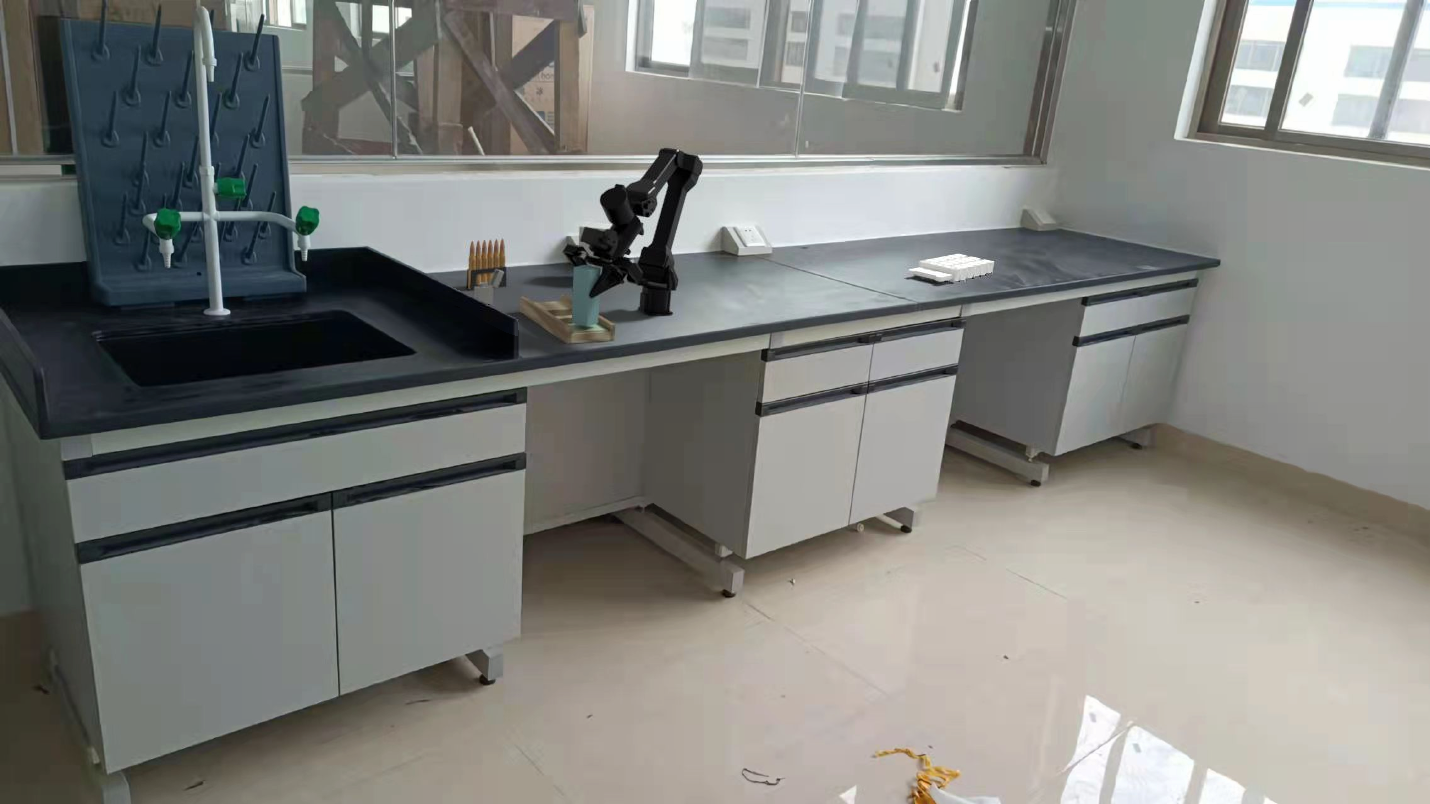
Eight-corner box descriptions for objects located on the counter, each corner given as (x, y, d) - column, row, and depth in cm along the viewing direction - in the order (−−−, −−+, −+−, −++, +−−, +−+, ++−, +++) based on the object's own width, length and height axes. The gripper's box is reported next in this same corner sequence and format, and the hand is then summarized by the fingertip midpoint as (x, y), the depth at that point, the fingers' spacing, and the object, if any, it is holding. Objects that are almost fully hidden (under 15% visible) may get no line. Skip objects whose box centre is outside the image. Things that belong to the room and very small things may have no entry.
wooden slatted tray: (564, 309, 234) (564, 294, 233) (614, 340, 214) (615, 324, 213) (519, 311, 228) (520, 296, 227) (567, 343, 208) (567, 327, 207)
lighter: (478, 306, 229) (478, 272, 226) (473, 304, 230) (474, 270, 228) (503, 303, 234) (504, 269, 232) (499, 301, 235) (499, 268, 233)
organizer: (994, 261, 326) (944, 272, 300) (991, 276, 327) (941, 288, 301) (958, 253, 333) (906, 263, 307) (955, 267, 335) (903, 278, 309)
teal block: (582, 319, 215) (584, 264, 211) (598, 323, 214) (600, 267, 210) (571, 323, 212) (573, 267, 208) (587, 326, 210) (589, 270, 206)
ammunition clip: (470, 291, 242) (471, 242, 238) (466, 289, 243) (466, 240, 239) (506, 286, 250) (508, 238, 246) (502, 284, 251) (503, 237, 247)
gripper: (570, 205, 213) (531, 262, 208) (637, 220, 203) (598, 280, 198) (593, 238, 222) (556, 294, 217) (659, 254, 212) (621, 313, 207)
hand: (582, 294), depth 210 cm, fingers closed on teal block, 4 cm apart
